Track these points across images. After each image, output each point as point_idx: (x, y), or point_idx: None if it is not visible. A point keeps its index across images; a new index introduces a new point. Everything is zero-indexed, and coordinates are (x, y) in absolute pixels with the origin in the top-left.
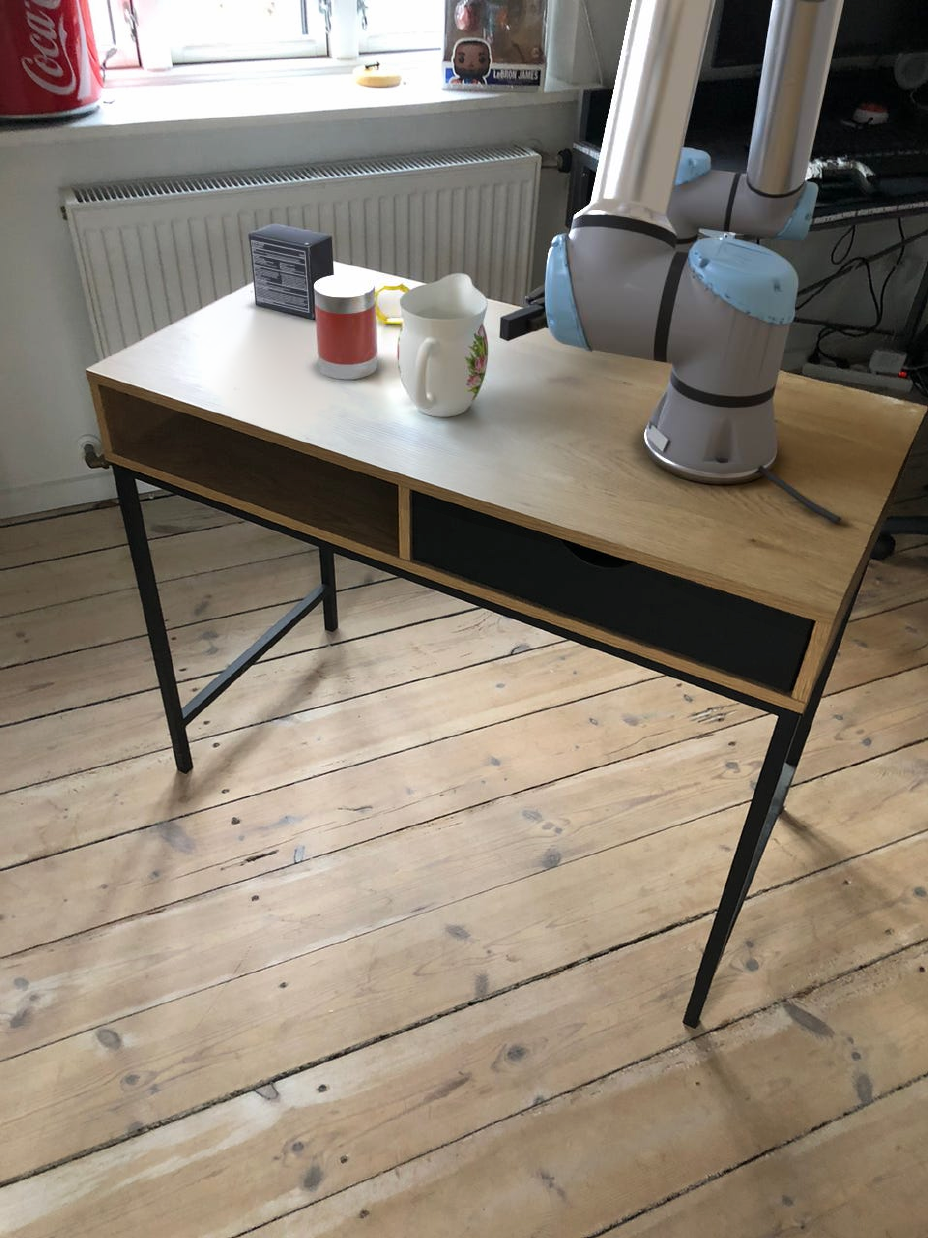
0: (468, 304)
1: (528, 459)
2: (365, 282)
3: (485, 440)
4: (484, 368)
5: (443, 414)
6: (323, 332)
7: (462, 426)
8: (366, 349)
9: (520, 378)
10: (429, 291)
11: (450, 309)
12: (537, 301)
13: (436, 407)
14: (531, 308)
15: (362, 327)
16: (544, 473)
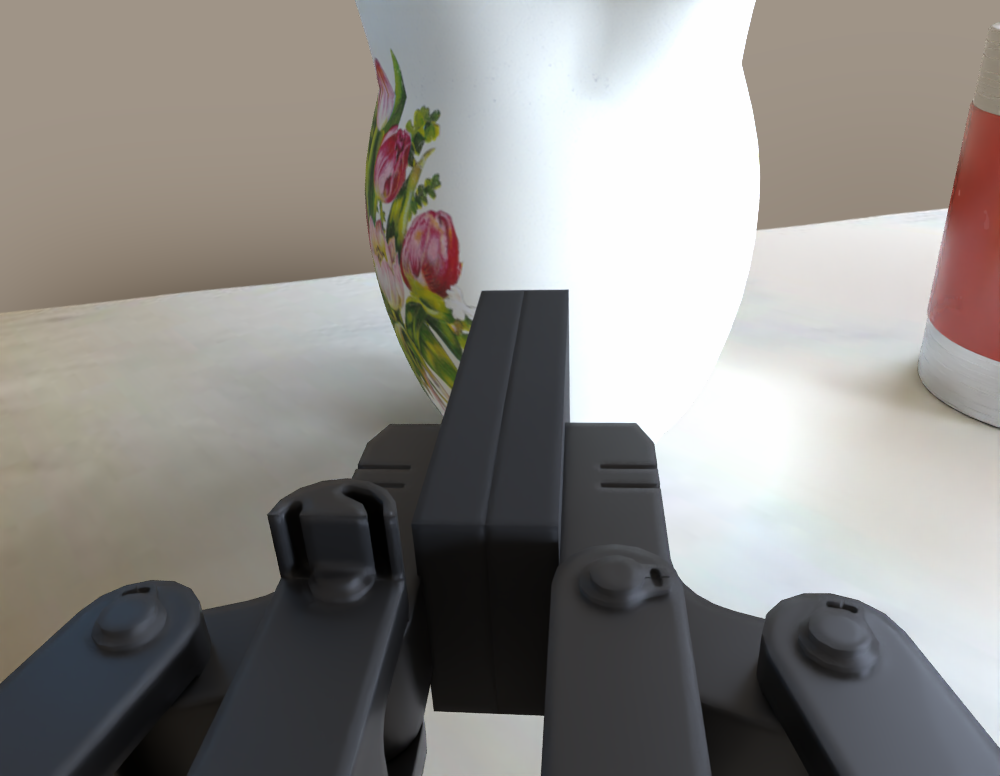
0: (576, 57)
1: (113, 394)
2: None
3: (288, 386)
4: (376, 270)
5: None
6: None
7: (401, 390)
8: (945, 281)
9: (475, 751)
10: None
11: (689, 109)
12: (602, 581)
13: None
14: (507, 449)
15: (961, 179)
16: (41, 383)
